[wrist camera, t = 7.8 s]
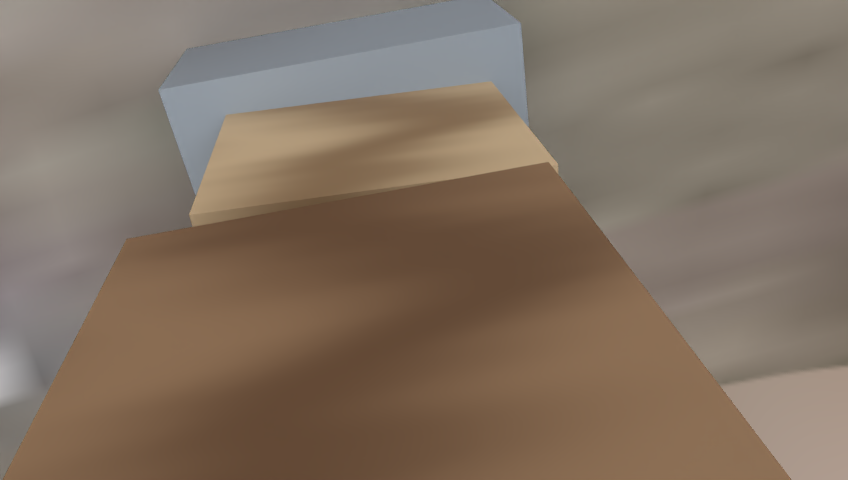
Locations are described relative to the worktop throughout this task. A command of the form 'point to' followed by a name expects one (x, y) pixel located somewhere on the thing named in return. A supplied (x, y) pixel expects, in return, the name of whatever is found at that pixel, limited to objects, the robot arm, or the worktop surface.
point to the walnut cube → (388, 352)
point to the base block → (342, 67)
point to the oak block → (360, 149)
